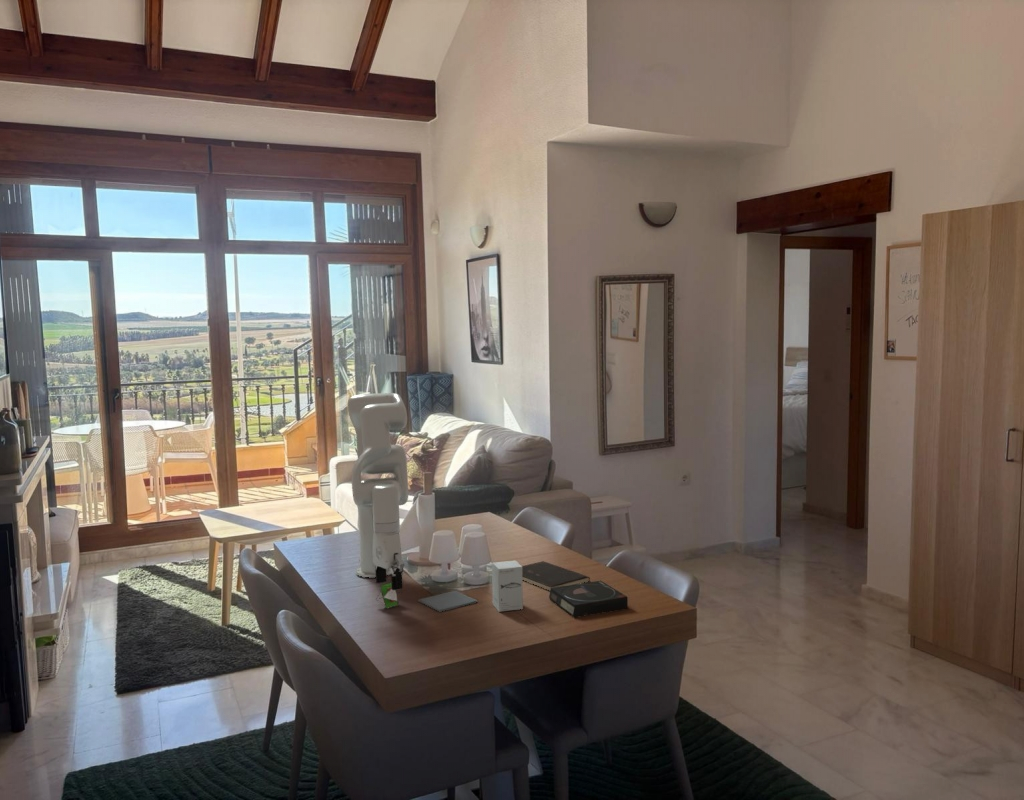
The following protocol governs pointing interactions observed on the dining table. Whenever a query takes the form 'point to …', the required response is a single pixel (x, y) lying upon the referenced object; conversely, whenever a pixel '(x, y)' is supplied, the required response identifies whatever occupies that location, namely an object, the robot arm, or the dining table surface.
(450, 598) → the mat
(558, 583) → the hardcover book
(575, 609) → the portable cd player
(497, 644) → the dining table surface
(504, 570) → the supplement box
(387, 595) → the geometric puzzle
